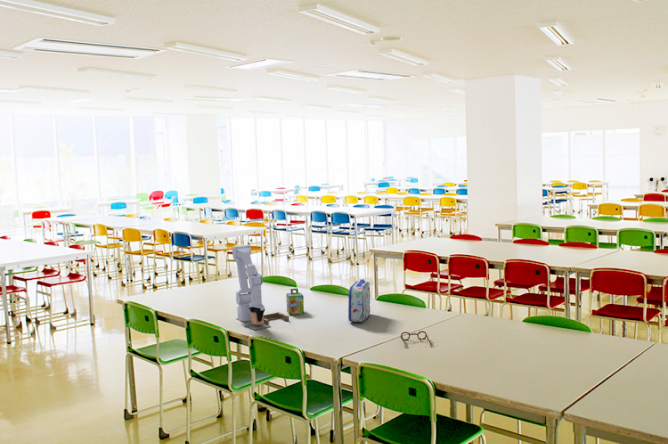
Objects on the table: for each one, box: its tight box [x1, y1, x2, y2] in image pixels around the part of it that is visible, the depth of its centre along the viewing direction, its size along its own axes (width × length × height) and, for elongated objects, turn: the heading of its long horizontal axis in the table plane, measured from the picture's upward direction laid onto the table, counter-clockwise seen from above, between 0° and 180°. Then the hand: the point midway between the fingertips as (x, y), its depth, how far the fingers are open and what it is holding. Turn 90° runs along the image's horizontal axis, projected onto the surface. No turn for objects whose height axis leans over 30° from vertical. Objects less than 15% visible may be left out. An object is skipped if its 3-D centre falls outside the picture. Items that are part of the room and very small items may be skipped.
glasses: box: [400, 330, 432, 349], centre depth 284 cm, size 13×13×5 cm
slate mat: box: [244, 322, 272, 331], centre depth 324 cm, size 12×10×1 cm
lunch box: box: [347, 279, 371, 323], centre depth 333 cm, size 28×10×22 cm, turn 168°
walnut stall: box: [264, 311, 290, 326], centre depth 334 cm, size 12×14×3 cm
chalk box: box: [285, 287, 305, 316], centre depth 352 cm, size 9×9×15 cm
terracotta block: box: [251, 312, 265, 325], centre depth 324 cm, size 5×5×6 cm
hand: (257, 320), depth 324 cm, fingers closed on terracotta block, 5 cm apart
